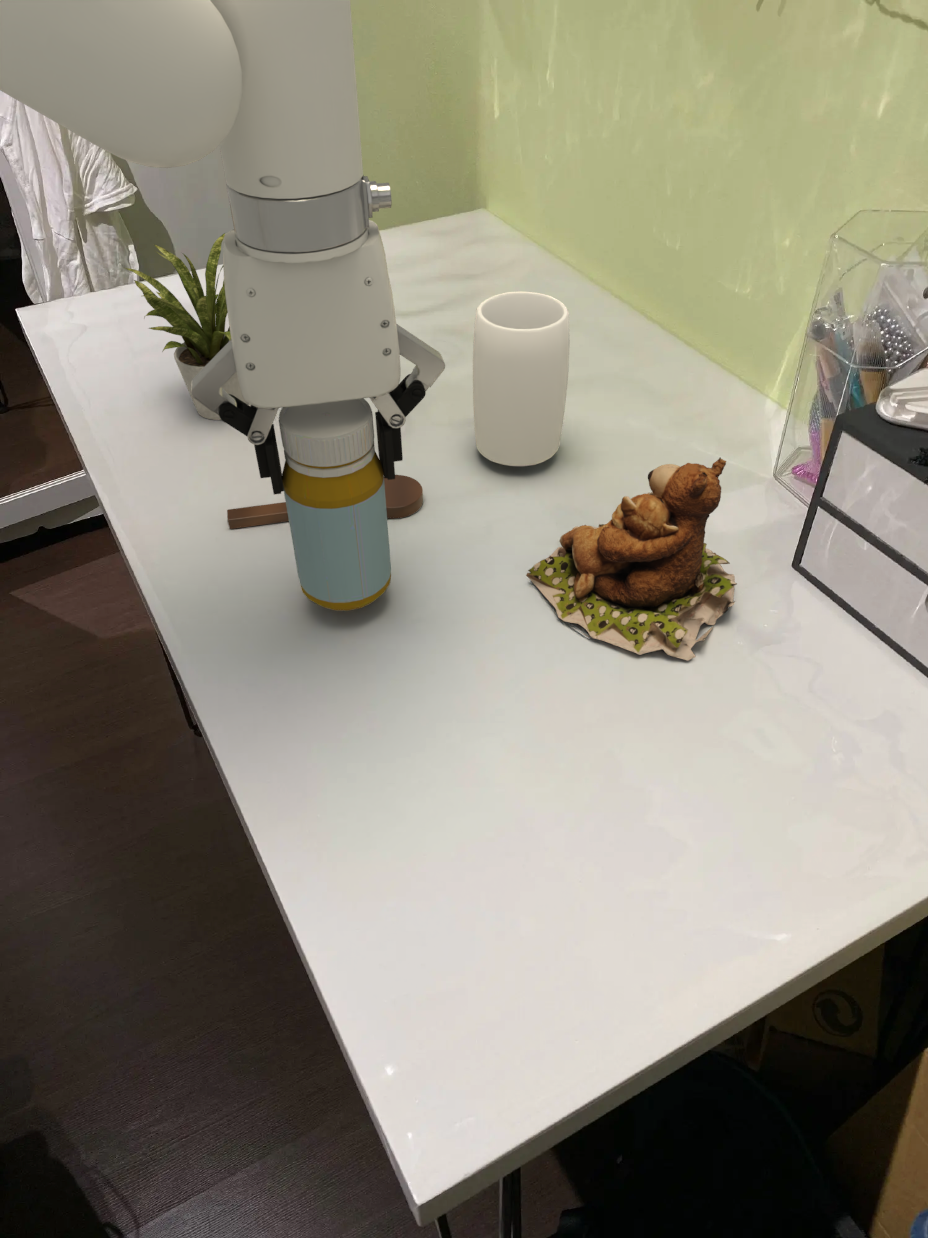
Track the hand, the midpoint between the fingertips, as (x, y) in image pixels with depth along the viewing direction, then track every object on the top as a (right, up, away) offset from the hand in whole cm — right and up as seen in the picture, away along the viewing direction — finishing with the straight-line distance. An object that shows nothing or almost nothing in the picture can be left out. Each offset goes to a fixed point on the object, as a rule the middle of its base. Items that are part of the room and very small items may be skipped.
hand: (332, 474), depth 63 cm
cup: (+14, +5, +23) cm, 28 cm away
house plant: (-15, +12, +31) cm, 36 cm away
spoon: (-2, 0, +17) cm, 17 cm away
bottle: (0, -8, +7) cm, 10 cm away
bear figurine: (+22, -8, +9) cm, 25 cm away
